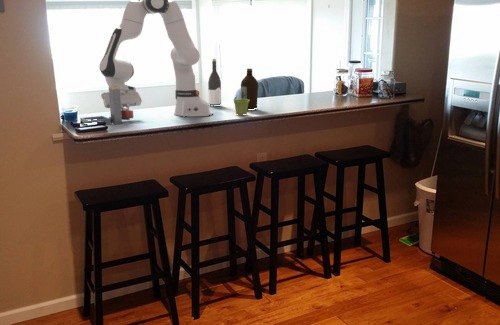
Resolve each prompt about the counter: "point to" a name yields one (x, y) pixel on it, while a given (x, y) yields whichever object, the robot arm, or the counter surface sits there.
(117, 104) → the pin
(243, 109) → the plant pot
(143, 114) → the counter surface
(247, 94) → the olive oil
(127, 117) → the crank lever
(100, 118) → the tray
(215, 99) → the wine bottle
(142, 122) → the counter surface
